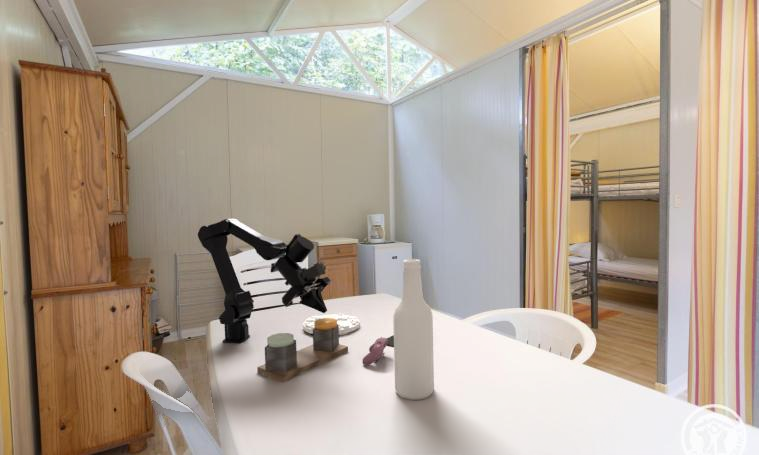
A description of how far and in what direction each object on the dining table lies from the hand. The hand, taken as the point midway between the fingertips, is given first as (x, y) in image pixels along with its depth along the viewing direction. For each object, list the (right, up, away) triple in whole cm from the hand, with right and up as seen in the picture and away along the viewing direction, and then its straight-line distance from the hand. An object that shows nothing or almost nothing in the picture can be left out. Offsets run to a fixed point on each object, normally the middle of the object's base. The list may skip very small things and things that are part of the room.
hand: (325, 311), depth 111 cm
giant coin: (-1, -11, +24) cm, 27 cm away
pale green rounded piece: (-10, -11, -13) cm, 19 cm away
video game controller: (+15, -12, -5) cm, 20 cm away
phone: (+23, -11, +11) cm, 28 cm away
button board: (-5, -12, -6) cm, 14 cm away
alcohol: (+24, -13, -25) cm, 37 cm away
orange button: (0, -10, +1) cm, 10 cm away
